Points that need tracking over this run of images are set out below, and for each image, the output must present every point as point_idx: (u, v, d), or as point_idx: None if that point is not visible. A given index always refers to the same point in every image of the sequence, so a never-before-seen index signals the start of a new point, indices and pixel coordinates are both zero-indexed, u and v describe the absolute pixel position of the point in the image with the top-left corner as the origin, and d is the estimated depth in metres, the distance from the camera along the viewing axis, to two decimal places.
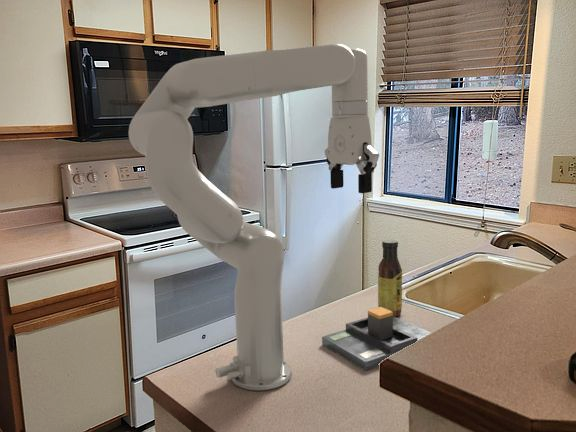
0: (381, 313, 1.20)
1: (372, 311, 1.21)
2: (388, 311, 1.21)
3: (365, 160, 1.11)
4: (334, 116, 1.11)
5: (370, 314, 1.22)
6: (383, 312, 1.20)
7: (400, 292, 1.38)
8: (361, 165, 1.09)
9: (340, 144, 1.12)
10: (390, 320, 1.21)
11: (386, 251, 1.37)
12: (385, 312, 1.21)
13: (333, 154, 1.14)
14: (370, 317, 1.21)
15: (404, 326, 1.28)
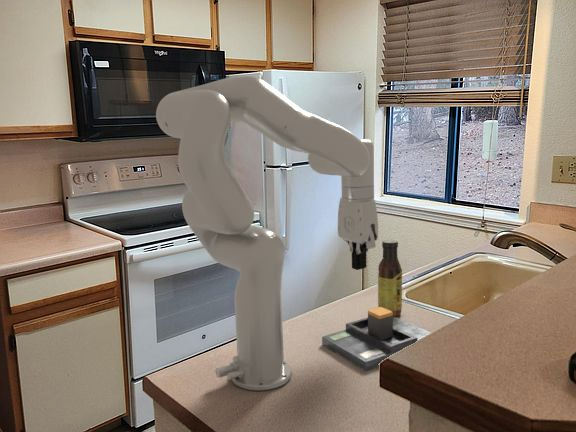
0: (381, 313, 1.20)
1: (372, 311, 1.21)
2: (388, 311, 1.21)
3: (365, 242, 1.24)
4: (344, 199, 1.22)
5: (370, 314, 1.22)
6: (383, 312, 1.20)
7: (400, 292, 1.38)
8: (359, 247, 1.23)
9: (349, 224, 1.23)
10: (390, 320, 1.21)
11: (386, 251, 1.37)
12: (385, 312, 1.21)
13: (343, 231, 1.25)
14: (370, 317, 1.21)
15: (404, 326, 1.28)
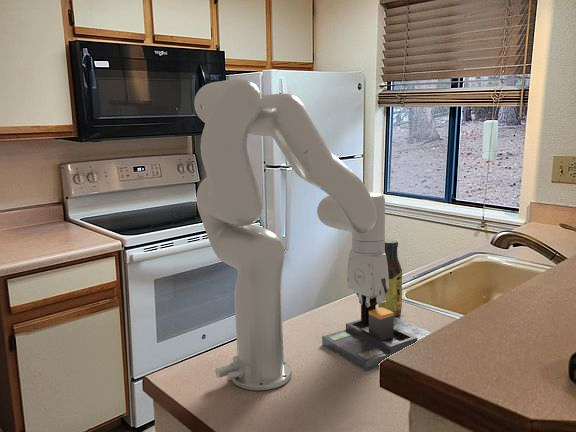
0: (382, 314, 1.20)
1: (373, 311, 1.21)
2: (389, 311, 1.21)
3: (375, 295, 1.23)
4: (354, 252, 1.21)
5: (371, 315, 1.21)
6: (384, 313, 1.20)
7: (400, 292, 1.38)
8: (369, 301, 1.22)
9: (359, 277, 1.22)
10: (391, 320, 1.21)
11: (386, 251, 1.37)
12: (386, 312, 1.20)
13: (352, 283, 1.24)
14: (371, 318, 1.21)
15: (404, 326, 1.28)
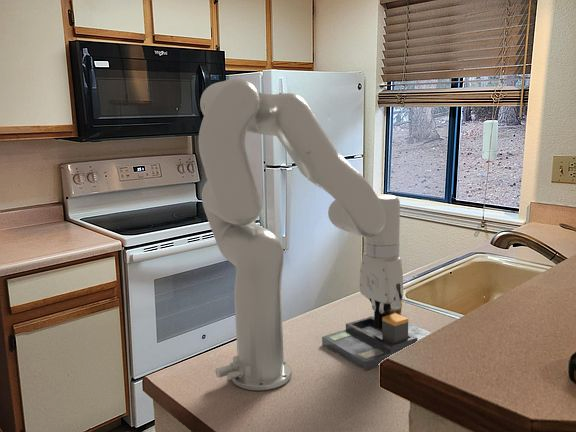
0: (396, 320, 1.16)
1: (387, 318, 1.17)
2: (403, 318, 1.17)
3: None
4: (368, 257, 1.17)
5: (384, 321, 1.18)
6: (398, 319, 1.16)
7: None
8: (383, 307, 1.18)
9: (373, 282, 1.18)
10: (405, 327, 1.17)
11: None
12: (400, 319, 1.17)
13: (365, 289, 1.20)
14: (385, 324, 1.17)
15: None
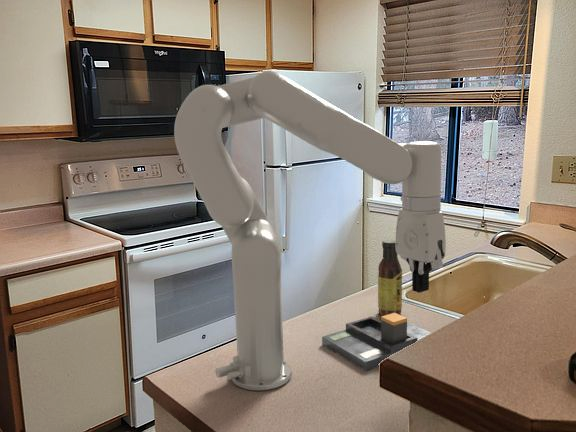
0: (395, 320, 1.16)
1: (386, 317, 1.18)
2: (402, 317, 1.17)
3: None
4: (406, 211, 1.05)
5: (383, 321, 1.18)
6: (397, 318, 1.17)
7: (400, 292, 1.38)
8: (423, 267, 1.07)
9: (411, 239, 1.06)
10: (404, 326, 1.17)
11: (386, 251, 1.37)
12: (399, 318, 1.17)
13: (402, 248, 1.09)
14: (384, 324, 1.18)
15: None
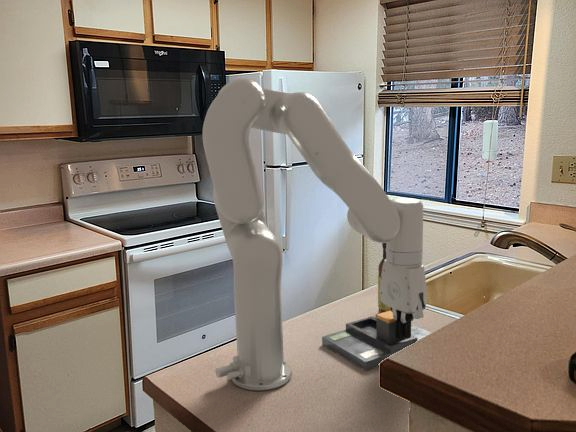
0: (390, 318, 1.17)
1: (381, 315, 1.19)
2: None
3: None
4: (389, 264, 1.11)
5: (379, 318, 1.19)
6: (392, 316, 1.18)
7: None
8: (405, 316, 1.13)
9: (394, 290, 1.12)
10: None
11: None
12: None
13: (386, 297, 1.15)
14: (379, 322, 1.19)
15: None
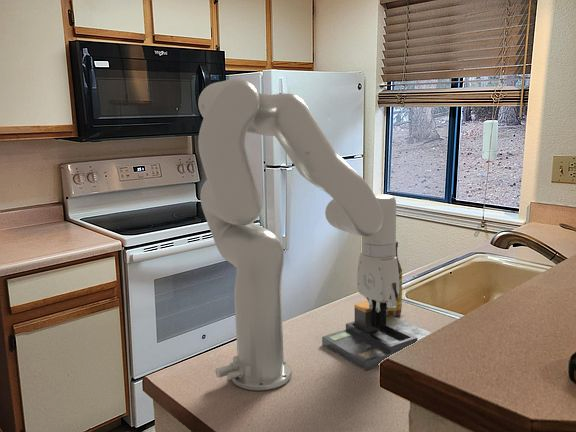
0: (367, 307, 1.24)
1: (358, 305, 1.26)
2: None
3: None
4: (364, 256, 1.18)
5: (356, 308, 1.26)
6: None
7: (400, 292, 1.38)
8: (380, 306, 1.19)
9: (369, 281, 1.19)
10: None
11: None
12: None
13: (362, 288, 1.21)
14: (357, 311, 1.26)
15: (404, 326, 1.28)
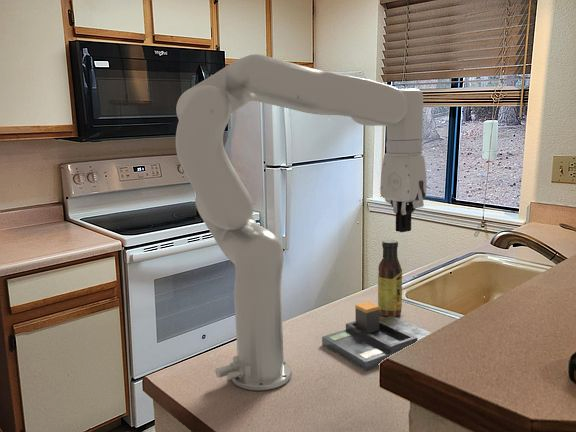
0: (368, 308, 1.24)
1: (359, 305, 1.25)
2: (375, 305, 1.25)
3: (412, 202, 1.15)
4: (389, 154, 1.13)
5: (357, 308, 1.25)
6: (370, 306, 1.24)
7: (400, 292, 1.38)
8: (405, 207, 1.14)
9: (395, 181, 1.14)
10: (377, 314, 1.25)
11: (386, 251, 1.37)
12: (372, 306, 1.24)
13: (387, 190, 1.16)
14: (358, 312, 1.25)
15: (404, 326, 1.28)
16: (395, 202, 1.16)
